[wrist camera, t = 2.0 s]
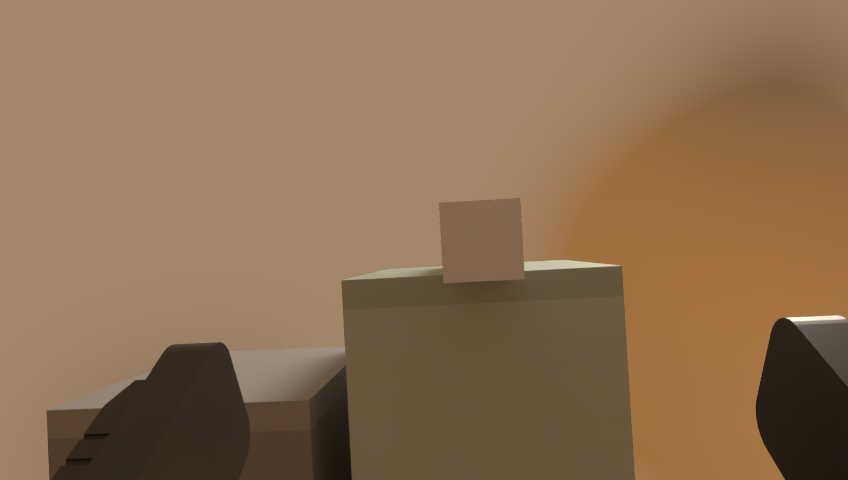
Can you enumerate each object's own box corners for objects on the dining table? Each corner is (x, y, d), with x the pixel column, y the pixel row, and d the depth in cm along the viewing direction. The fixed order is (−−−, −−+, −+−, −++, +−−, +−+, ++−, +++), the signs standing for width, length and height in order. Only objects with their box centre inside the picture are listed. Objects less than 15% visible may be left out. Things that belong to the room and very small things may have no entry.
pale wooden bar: (525, 279, 22) (520, 196, 23) (443, 283, 23) (438, 201, 23) (496, 264, 44) (493, 223, 44) (454, 267, 45) (452, 225, 45)
